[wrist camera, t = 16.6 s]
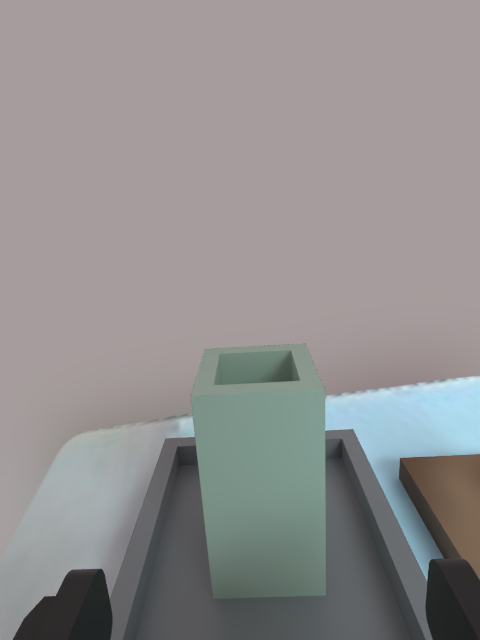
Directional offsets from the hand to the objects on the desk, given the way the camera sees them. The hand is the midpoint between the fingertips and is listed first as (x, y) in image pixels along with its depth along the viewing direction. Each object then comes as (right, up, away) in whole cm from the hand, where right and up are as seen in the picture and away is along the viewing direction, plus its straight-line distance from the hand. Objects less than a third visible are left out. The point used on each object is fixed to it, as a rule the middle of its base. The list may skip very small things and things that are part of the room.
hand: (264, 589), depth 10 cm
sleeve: (+1, -5, +10) cm, 11 cm away
